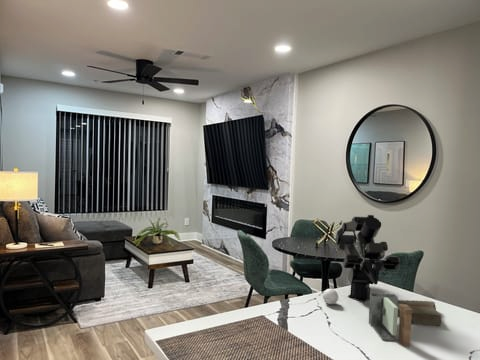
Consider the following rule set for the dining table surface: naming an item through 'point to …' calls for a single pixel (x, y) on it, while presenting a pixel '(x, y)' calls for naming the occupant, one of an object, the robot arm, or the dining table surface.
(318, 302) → the dining table surface
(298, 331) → the dining table surface
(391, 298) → the gray bookend
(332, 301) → the seamed sphere
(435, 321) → the marble piece
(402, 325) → the post
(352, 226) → the robot arm
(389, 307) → the pale green slab
